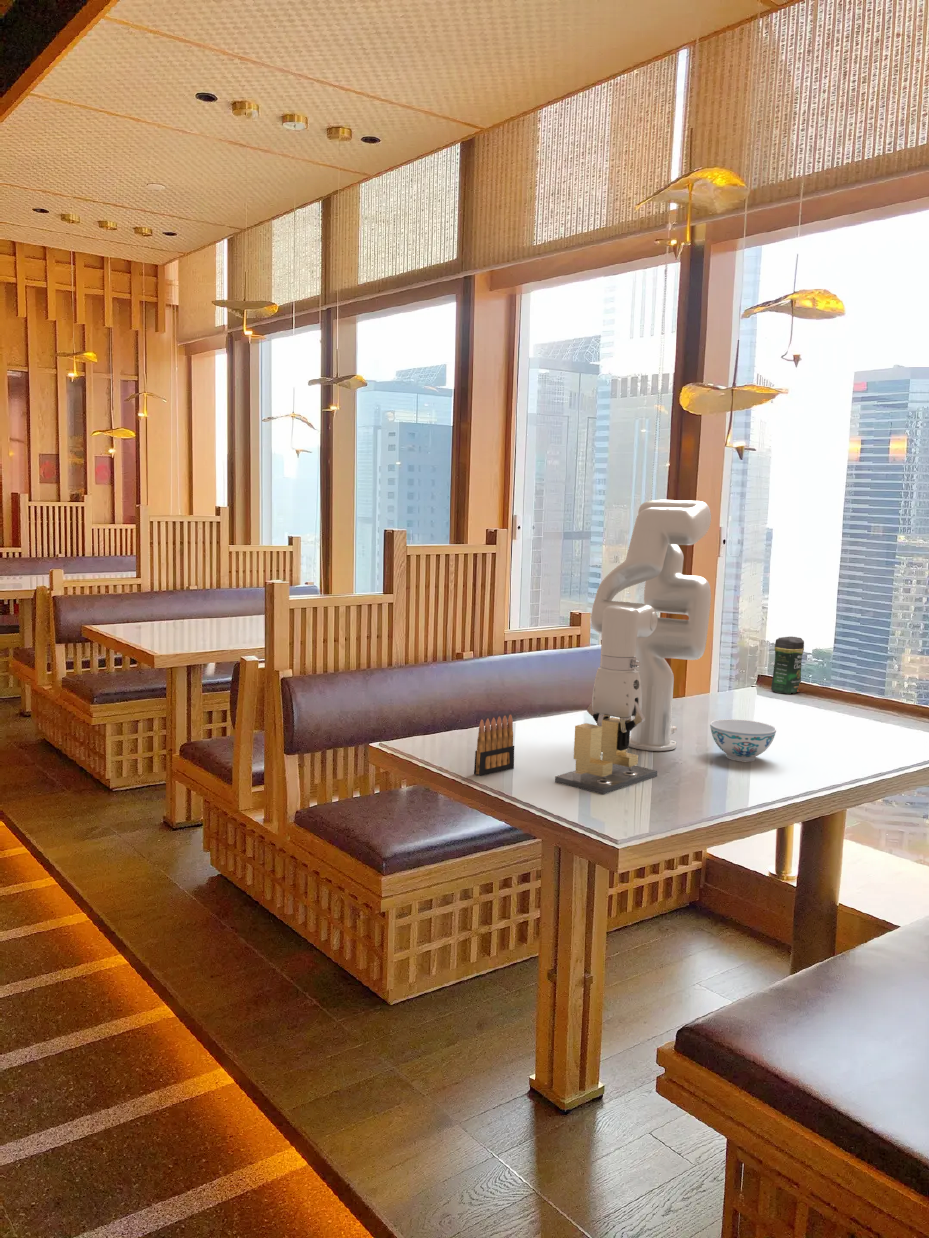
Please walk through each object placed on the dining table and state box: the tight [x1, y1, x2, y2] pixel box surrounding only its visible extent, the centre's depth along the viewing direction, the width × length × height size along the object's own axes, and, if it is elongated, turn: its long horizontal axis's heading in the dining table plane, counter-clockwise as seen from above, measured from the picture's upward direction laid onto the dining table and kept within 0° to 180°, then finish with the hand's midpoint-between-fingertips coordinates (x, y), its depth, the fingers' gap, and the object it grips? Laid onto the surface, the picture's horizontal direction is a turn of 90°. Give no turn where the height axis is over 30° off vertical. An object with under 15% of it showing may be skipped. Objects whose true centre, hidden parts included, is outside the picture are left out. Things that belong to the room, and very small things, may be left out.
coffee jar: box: [770, 636, 805, 695], centre depth 325 cm, size 10×8×19 cm
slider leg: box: [601, 716, 639, 771], centre depth 211 cm, size 4×7×10 cm, turn 49°
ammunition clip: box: [473, 714, 515, 777], centre depth 212 cm, size 11×2×12 cm, turn 134°
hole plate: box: [554, 722, 658, 795], centre depth 209 cm, size 21×12×12 cm, turn 139°
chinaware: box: [709, 718, 777, 763], centre depth 232 cm, size 15×15×8 cm
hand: (613, 746), depth 212 cm, fingers closed on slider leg, 4 cm apart
